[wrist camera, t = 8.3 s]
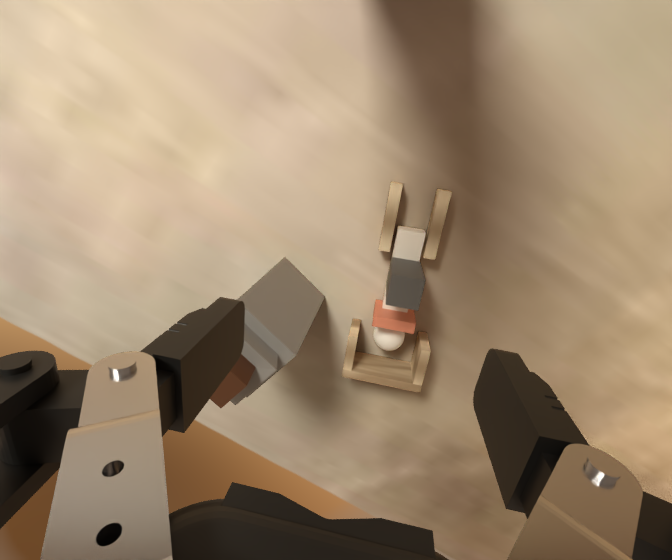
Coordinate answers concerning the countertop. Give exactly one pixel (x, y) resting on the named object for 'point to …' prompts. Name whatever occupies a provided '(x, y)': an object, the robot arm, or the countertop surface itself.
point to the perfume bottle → (270, 329)
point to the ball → (388, 338)
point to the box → (386, 364)
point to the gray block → (402, 283)
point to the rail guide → (433, 228)
